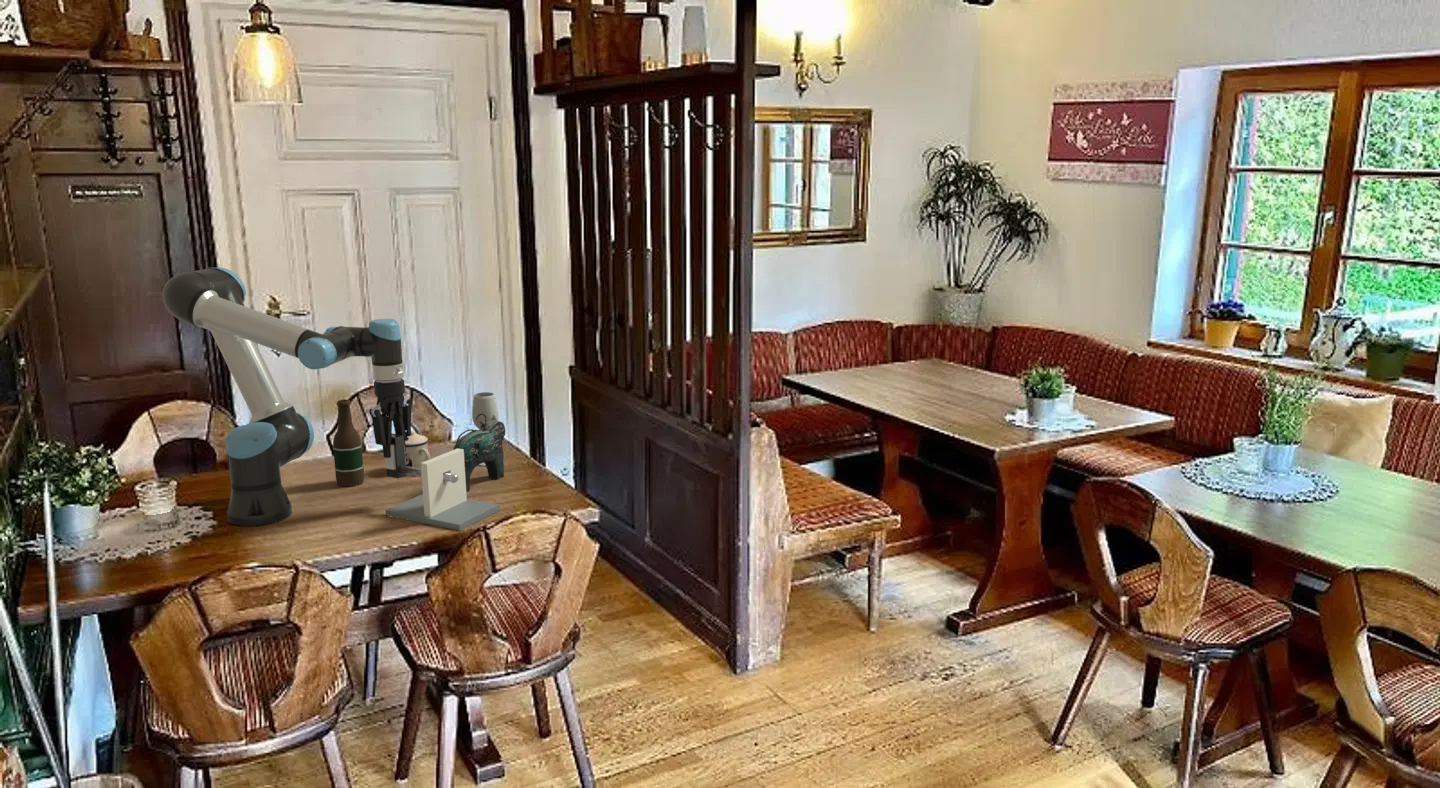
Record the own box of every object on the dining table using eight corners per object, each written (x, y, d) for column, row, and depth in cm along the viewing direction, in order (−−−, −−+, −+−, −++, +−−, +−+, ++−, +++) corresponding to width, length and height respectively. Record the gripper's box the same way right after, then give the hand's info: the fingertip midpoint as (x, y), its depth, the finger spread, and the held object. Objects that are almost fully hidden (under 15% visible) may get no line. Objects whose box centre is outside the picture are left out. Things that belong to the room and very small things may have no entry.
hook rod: (453, 488, 256) (450, 446, 254) (386, 476, 265) (383, 436, 263) (461, 484, 259) (458, 443, 256) (394, 473, 268) (391, 433, 266)
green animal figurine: (496, 472, 294) (492, 406, 290) (513, 476, 291) (509, 408, 287) (447, 492, 277) (443, 422, 273) (465, 496, 274) (461, 425, 270)
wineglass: (493, 457, 309) (489, 390, 304) (505, 462, 303) (501, 394, 298) (470, 461, 304) (466, 394, 299) (482, 467, 299) (478, 398, 294)
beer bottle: (356, 488, 281) (349, 404, 275) (330, 486, 282) (322, 403, 277) (370, 479, 288) (363, 397, 283) (345, 477, 290) (337, 396, 284)
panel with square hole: (460, 530, 250) (456, 470, 246) (385, 515, 260) (380, 458, 256) (500, 510, 264) (497, 453, 260) (428, 497, 274) (424, 442, 270)
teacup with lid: (391, 470, 297) (388, 432, 294) (417, 462, 304) (414, 425, 301) (416, 478, 289) (413, 439, 287) (442, 470, 296) (440, 432, 294)
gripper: (377, 387, 251) (384, 477, 257) (421, 374, 265) (428, 460, 271) (354, 384, 254) (362, 473, 260) (399, 372, 268) (406, 456, 274)
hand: (395, 466), depth 265 cm, fingers closed on hook rod, 3 cm apart
